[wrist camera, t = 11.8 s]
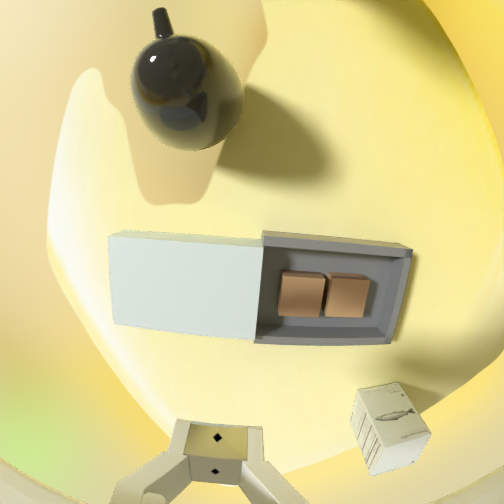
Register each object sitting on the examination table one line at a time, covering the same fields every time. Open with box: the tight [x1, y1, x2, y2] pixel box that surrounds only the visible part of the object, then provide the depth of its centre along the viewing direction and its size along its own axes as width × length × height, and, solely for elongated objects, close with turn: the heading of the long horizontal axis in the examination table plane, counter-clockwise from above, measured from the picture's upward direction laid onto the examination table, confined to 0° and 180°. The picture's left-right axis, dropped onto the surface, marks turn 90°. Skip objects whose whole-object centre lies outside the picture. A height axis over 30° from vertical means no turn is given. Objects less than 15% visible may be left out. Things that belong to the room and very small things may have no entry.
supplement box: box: [350, 382, 431, 476], centre depth 32 cm, size 7×7×13 cm
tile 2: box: [321, 271, 370, 317], centre depth 32 cm, size 4×4×2 cm
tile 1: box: [277, 269, 325, 317], centre depth 31 cm, size 4×4×2 cm
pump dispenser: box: [130, 7, 245, 151], centre depth 21 cm, size 10×10×15 cm
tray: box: [254, 231, 413, 346], centre depth 32 cm, size 12×17×4 cm
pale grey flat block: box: [108, 230, 263, 340], centre depth 31 cm, size 10×16×4 cm, turn 85°
